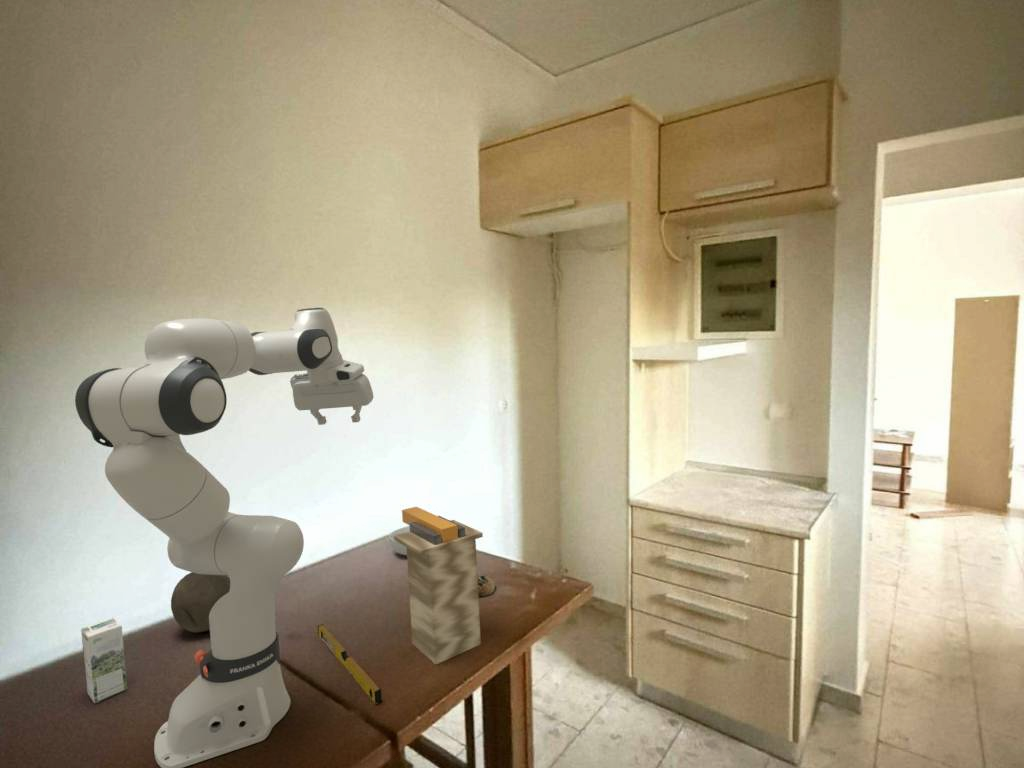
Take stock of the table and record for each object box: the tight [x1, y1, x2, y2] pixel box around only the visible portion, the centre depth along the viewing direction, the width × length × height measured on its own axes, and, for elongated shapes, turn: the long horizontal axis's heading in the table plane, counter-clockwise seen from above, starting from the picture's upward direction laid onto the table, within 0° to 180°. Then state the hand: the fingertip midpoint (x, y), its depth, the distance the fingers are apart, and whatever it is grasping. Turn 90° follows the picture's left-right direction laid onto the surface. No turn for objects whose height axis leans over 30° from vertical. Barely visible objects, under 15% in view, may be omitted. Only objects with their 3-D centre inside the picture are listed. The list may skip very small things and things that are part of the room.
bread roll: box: [477, 573, 496, 598], centre depth 150 cm, size 11×11×5 cm
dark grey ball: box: [170, 572, 230, 634], centre depth 134 cm, size 14×14×15 cm
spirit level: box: [317, 623, 383, 706], centre depth 116 cm, size 33×1×3 cm, turn 39°
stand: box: [394, 515, 484, 666], centre depth 122 cm, size 16×13×28 cm
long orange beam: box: [401, 506, 458, 543], centre depth 125 cm, size 4×20×3 cm, turn 38°
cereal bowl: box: [388, 525, 410, 557], centre depth 180 cm, size 17×17×7 cm
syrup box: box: [80, 617, 128, 704], centre depth 109 cm, size 6×6×14 cm
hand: (339, 422), depth 134 cm, fingers open, 8 cm apart
